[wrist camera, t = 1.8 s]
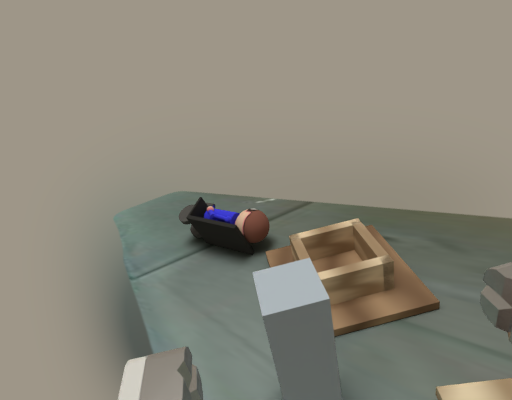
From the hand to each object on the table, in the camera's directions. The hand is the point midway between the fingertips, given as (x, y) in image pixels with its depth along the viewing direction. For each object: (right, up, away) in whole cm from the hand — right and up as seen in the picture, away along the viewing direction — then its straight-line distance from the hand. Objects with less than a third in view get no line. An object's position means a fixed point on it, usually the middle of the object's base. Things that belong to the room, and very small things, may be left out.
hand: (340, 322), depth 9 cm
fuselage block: (+3, -15, +22) cm, 26 cm away
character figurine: (-7, -4, +46) cm, 47 cm away
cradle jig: (+8, -7, +34) cm, 36 cm away
